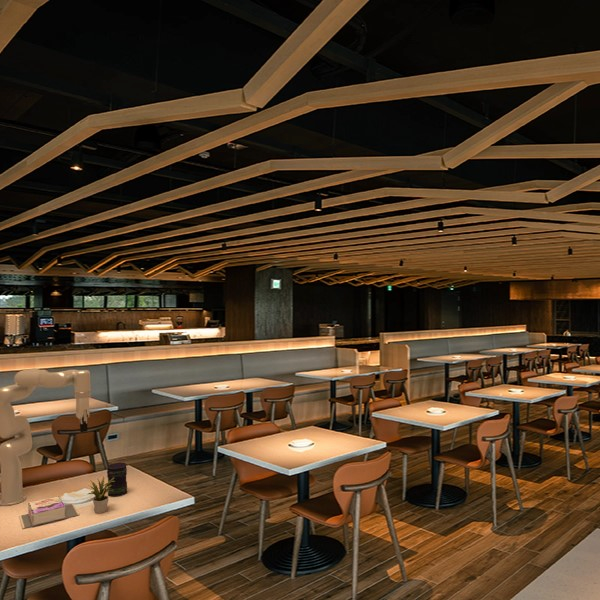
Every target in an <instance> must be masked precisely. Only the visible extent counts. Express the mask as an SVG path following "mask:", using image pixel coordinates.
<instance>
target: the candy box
mask: <svg viewBox="0 0 600 600" xmlns="http://www.w3.org/2000/svg"><path fill="white" fill-rule="evenodd" d="M27 504H28V507H27V508H28V509H27V514H29V517H30V520H31V522H32V525H33V526H34V525H38V524H42V525H44V524H43V523H46V524H48V523H47V522H51V521H55V520H59V519H63V518H65V505H66V504H65V503H64V502H63V501H62V499H61V498H60V496H59V495H58V496H55V497H50V498H49V497H48V498H44V499H39V500H36V501H30V502H28V503H27ZM63 520H64V519H63ZM59 521H60V520H59ZM55 522H56V521H55ZM51 523H52V522H51ZM38 526H39V525H38ZM34 527H35V526H34Z"/></svg>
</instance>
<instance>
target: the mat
mask: <svg viewBox="0 0 600 600" xmlns="http://www.w3.org/2000/svg"><path fill="white" fill-rule="evenodd" d="M64 505H65V518H63V519H59V520H55V521H51V522H47V523H43V524H38V525H34V526H33V525H32V522H31V520H30V517H29V514H28V513H26V514H23V515H22V514H20V515H18V518H19V522H20V525H21V528H22V530H25V529H30V528H33V527H39V526H42V525H46V524H50V523H53V522H58V521H62V520H66V519H71V518H75V517H79V516H80V512H79V511H78V509H77V506H76V505H75V503H74V502H73V503H69V504H64Z"/></svg>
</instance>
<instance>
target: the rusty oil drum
mask: <svg viewBox="0 0 600 600" xmlns="http://www.w3.org/2000/svg"><path fill="white" fill-rule="evenodd" d="M106 469H107V470H106V477H107V483H108V482H109V481H110V480H111V479H112V480H113V481H114V482H110V483H109V485H110V487H109V485H108V487H109V488H111V489H109V490H112V491H108V492H107V496H108V498H109V497H110V498H119V497H122V496H125V495H126V494H127V493H128V481H127V473H128V469H127V463H126V462H114V463H111V464H110V463H109V464H108V465H107V467H106ZM113 478H114V479H113ZM112 480H111V481H112ZM113 491H114V492H113Z"/></svg>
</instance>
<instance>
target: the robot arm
mask: <svg viewBox="0 0 600 600" xmlns="http://www.w3.org/2000/svg"><path fill="white" fill-rule="evenodd" d="M13 381H14V383H15V384H12V385H11V384H10V385H6V386H3V387H0V438H2V439H8V440H6V441H4V442H3V443H1V444H0V486H1V488H0V490H1V498H0V506H3V507H4V506H5V507H7V506H13V505H18V504H21V503H23V502H24V501H26V500H27V496H26V495H25V494H23V490H24V489H23V467H22V466H23V465H22V462H21V460H20V459H19V457H20V456H22V455H25V454H27V453H29V452H30V451H31V450H32V449H33V437H32V432H31V424H30V421H29V420H28V419H27V417H25V416H22V415H17V416H16V414H15V409H14V407H13V406H12V404H11V403H12V402H17V401H20V400H24V399H26V398H27V397H29V396H30V395H31V394H32V393H33V392H34V391H35V389H37V387H38V388H39V387H43V388H63V387H68V386H72V385H74V387H73V388H74V399H75V417H76V418H77V419H79V432H80V433H85V432H88V418H90V398H92V393H91V390H92V389H91V388H92V387H91V386H92V385H91V372H90V370H86V369H82V370H81V369H68V370H62V371H59V372H57V371H55V372H50V371H48V370H47V369H38V368H29V369H23V370H21V371H18V372H17V373H15V375H14V377H13ZM12 437H14V438H12ZM9 438H10V439H9ZM11 438H12V439H11Z"/></svg>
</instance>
